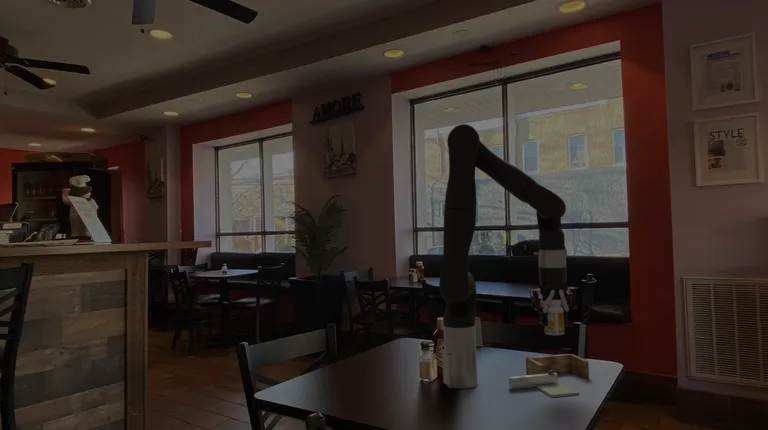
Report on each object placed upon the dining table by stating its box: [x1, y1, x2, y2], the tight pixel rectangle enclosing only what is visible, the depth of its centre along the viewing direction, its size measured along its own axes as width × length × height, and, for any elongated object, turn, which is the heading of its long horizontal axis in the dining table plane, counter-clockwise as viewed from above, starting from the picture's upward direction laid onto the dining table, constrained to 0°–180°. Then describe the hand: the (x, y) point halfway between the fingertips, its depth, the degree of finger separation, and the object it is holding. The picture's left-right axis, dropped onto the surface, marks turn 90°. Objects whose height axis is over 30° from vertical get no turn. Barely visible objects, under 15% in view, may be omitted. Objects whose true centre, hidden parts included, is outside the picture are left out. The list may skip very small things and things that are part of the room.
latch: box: [508, 370, 559, 390], centre depth 146 cm, size 14×2×4 cm, turn 100°
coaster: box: [536, 383, 580, 398], centre depth 141 cm, size 8×8×1 cm
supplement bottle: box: [543, 300, 565, 336], centre depth 147 cm, size 5×5×10 cm
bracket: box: [525, 353, 590, 379], centre depth 155 cm, size 15×9×5 cm, turn 100°
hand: (554, 324), depth 147 cm, fingers closed on supplement bottle, 5 cm apart
